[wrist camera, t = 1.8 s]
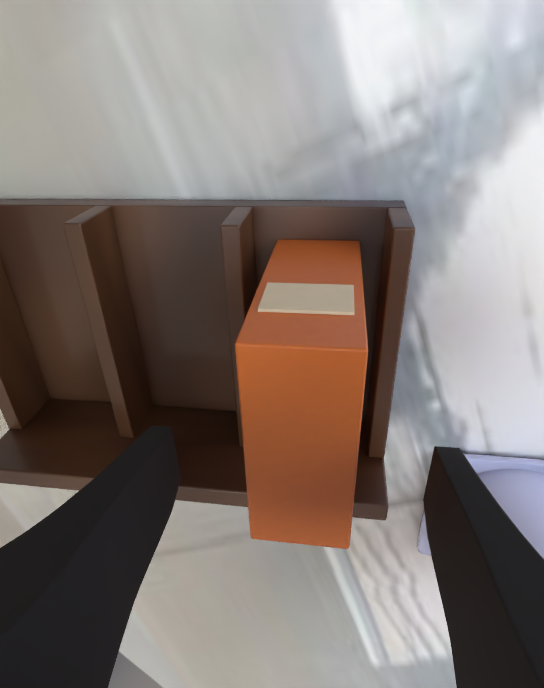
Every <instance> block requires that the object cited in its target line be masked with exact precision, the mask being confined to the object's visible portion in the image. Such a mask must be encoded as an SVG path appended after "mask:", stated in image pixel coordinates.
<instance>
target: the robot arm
mask: <svg viewBox="0 0 544 688" xmlns="http://www.w3.org/2000/svg"><path fill="white" fill-rule="evenodd" d="M180 480H181V474H180V469H179V463H178V458H177V453H176V448H175V442H174V437H173V432H172V427H166V426H153V425H151V426H150V427H149V428H148V429H147V430H146V431H144V432H143V433H142V434H141V435H140V436H139V437H138V438H137V439H136V440H135V441H134V442H133V443H132V444H131V445H130V446H129V447H127V448H126V449H125V450H124V451H123V452H122V453H121V454H120V455H119V456H118V457H117V458H116V459H115V460H114V461H113V462H111V463H110V464H109V465H108V466H107V467H106V468H105V469H104V470H103V471H102V472H100V473H99V474H98V475H97V476H96V477H95V478H94V479H93V480H92V481H90V482H89V483H88V484H87V485H86V486H84V487H83V488H82V489H81V490H80V491H79V492H77V493H76V494H75V495H74V496H73V497H71V498H70V499H69V500H68V501H67V502H65V503H64V504H63V505H62V506H60V507H59V508H58V509H56V510H55V511H54V512H52V513H51V514H50V515H49V516H47V517H46V518H44V519H43V520H42V521H40V522H39V523H37V524H36V525H35V526H33V527H32V528H30V529H29V530H28V531H26V532H25V533H23V534H22V535H20V536H19V537H17V538H15V539H14V540H12V541H11V542H9V543H8V544H6V545H4V546H3V547H1V548H0V688H108V685H109V681H110V678H111V675H112V671H113V668H114V665H115V661H116V658H117V654H118V651H119V648H120V644H121V641H122V638H123V635H124V632H125V629H126V625H127V622H128V619H129V616H130V613H131V610H132V607H133V604H134V601H135V598H136V596H137V593H138V590H139V588H140V585H141V583H142V581H143V578H144V576H145V574H146V571H147V569H148V567H149V564H150V562H151V560H152V557H153V555H154V552H155V550H156V548H157V545H158V543H159V541H160V538H161V536H162V534H163V531H164V529H165V526H166V524H167V522H168V519H169V517H170V514H171V512H172V509H173V505H174V502H175V499H176V495H177V491H178V488H179V484H180ZM423 501H424V514H423V518H422V523H421V527H420V532H419V537H418V541H417V548H418V551H419V552H420V553H422V554H425V555H431V556H432V560H433V564H434V569H435V573H436V578H437V582H438V586H439V591H440V595H441V599H442V604H443V608H444V612H445V617H446V621H447V626H448V631H449V636H450V642H451V647H452V655H453V662H454V670H455V677H456V684H457V688H544V460H540V459H527V458H514V457H501V456H488V455H475V454H464V453H463V452H462V451H461V450H460V449H459V448H450V447H437V446H435V447H434V452H433V457H432V461H431V466H430V471H429V475H428V480H427V485H426V489H425V494H424V499H423Z"/></svg>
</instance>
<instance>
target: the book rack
mask: <svg viewBox="0 0 544 688" xmlns="http://www.w3.org/2000/svg"><path fill="white" fill-rule="evenodd" d="M414 235H415V227H414V225H413V223H412V220H411V218H410V216H409V213H408V211H407V208H406V205H405V203H404V201H314V200H107V199H0V408H1V411H2V413H3V415H4V418H5V420H6V422H7V425H8V427H9V428H10V429H9V430H8V431H7V433H6V434H5V435H4V436H3V437H2V438H1V439H0V483H8V484H18V485H28V486H39V487H49V488H59V489H69V490H79V491H80V490H81V489H82V488H83V487H84V486H86V485H87V484H88V483H89V482H90V481H92V480H93V479H94V478H95V477H96V476H97V475H98V474H99V473H100V472H102V471H103V470H104V469H105V468H106V467H107V466H108V465H109V464H110V463H111V462H113V461H114V460H115V459H116V458H117V457H118V456H119V455H120V454H121V453H122V452H123V451H124V450H125V449H126V448H127V447H129V446H130V445H131V444H132V443H133V442H134V441H135V440H136V439H137V438H138V437H139V436H140V435H141V434H142V433H143V432H144V431H146V430H147V429H148V428H149V427H150V426H151V425H153V426H166V427H172V432H173V437H174V442H175V448H176V453H177V458H178V463H179V469H180V474H181V480H180V484H179V488H178V491H177V495H176V499H175V500H182V501H192V502H202V503H212V504H222V505H233V506H243V507H248V498H247V486H246V474H245V462H244V450H243V438H242V426H241V414H240V402H239V390H238V378H237V366H236V354H235V342H236V340H237V337H238V335H239V333H240V330H241V328H242V325H243V323H244V320H245V318H246V315H247V313H248V310H249V308H250V306H251V303H252V301H253V298H254V296H255V293H256V291H257V288H258V286H259V284H260V281H261V279H262V276H263V274H264V271H265V269H266V266H267V264H268V261H269V259H270V257H271V254H272V252H273V249H274V247H275V244H276V242H277V240H278V239H284V240H344V241H359V242H360V253H361V265H362V278H363V291H364V304H365V317H366V329H367V342H368V358H367V368H366V379H365V389H364V400H363V410H362V421H361V431H360V441H359V452H358V462H357V473H356V483H355V494H354V504H353V514H352V517H355V518H365V519H376V520H386V518H387V512H388V497H387V486H386V476H385V466H384V454H385V447H386V440H387V432H388V425H389V418H390V411H391V403H392V396H393V389H394V381H395V374H396V367H397V359H398V352H399V345H400V337H401V330H402V323H403V316H404V308H405V301H406V294H407V286H408V279H409V272H410V264H411V257H412V250H413V242H414Z"/></svg>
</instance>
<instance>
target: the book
mask: <svg viewBox="0 0 544 688" xmlns="http://www.w3.org/2000/svg"><path fill="white" fill-rule="evenodd" d="M235 354H236V366H237V378H238V390H239V402H240V414H241V426H242V438H243V450H244V462H245V474H246V486H247V498H248V510H249V522H250V534H251V538H252V539H260V540H269V541H278V542H287V543H297V544H306V545H315V546H325V547H334V548H343V549H348V548H349V546H350V535H351V525H352V514H353V504H354V494H355V483H356V473H357V462H358V452H359V441H360V431H361V421H362V410H363V400H364V389H365V379H366V368H367V358H368V342H367V329H366V317H365V304H364V291H363V278H362V265H361V253H360V242H359V241H344V240H284V239H278V240H277V242H276V244H275V247H274V249H273V252H272V254H271V257H270V259H269V261H268V264H267V266H266V269H265V271H264V274H263V276H262V279H261V281H260V284H259V286H258V288H257V291H256V293H255V296H254V298H253V301H252V303H251V306H250V308H249V310H248V313H247V315H246V318H245V320H244V323H243V325H242V328H241V330H240V333H239V335H238V337H237V340H236V342H235Z"/></svg>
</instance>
